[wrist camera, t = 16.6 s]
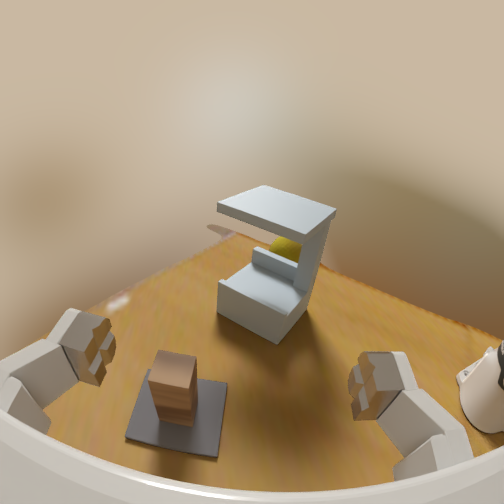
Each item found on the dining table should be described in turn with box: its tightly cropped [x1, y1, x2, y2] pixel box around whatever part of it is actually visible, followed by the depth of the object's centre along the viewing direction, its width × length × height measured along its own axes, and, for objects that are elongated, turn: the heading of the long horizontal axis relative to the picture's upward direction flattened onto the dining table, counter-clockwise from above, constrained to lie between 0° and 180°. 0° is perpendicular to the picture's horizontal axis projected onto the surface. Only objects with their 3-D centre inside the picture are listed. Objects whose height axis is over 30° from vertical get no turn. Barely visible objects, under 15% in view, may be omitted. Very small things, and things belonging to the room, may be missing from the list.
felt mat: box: [125, 369, 227, 458], centre depth 34 cm, size 12×12×1 cm
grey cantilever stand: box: [217, 185, 336, 345], centre depth 49 cm, size 13×14×22 cm
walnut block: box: [148, 350, 198, 427], centre depth 32 cm, size 4×4×10 cm
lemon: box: [269, 236, 302, 263], centre depth 68 cm, size 11×8×8 cm
